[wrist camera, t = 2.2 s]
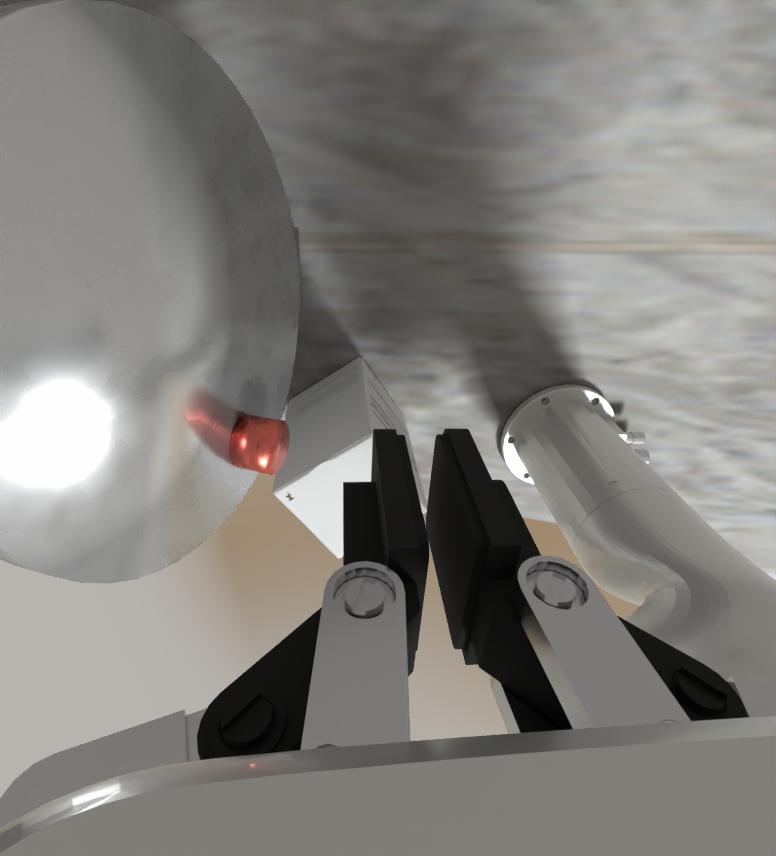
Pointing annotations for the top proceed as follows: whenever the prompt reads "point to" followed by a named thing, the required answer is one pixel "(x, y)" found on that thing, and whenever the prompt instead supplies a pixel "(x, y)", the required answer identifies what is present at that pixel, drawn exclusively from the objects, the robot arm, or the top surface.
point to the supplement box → (335, 447)
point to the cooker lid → (133, 293)
